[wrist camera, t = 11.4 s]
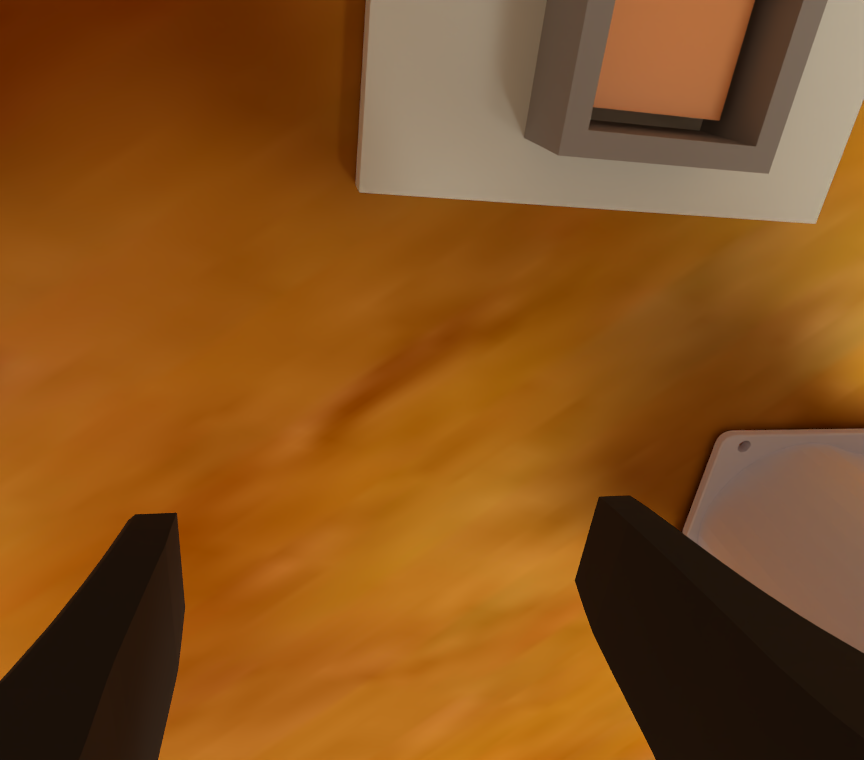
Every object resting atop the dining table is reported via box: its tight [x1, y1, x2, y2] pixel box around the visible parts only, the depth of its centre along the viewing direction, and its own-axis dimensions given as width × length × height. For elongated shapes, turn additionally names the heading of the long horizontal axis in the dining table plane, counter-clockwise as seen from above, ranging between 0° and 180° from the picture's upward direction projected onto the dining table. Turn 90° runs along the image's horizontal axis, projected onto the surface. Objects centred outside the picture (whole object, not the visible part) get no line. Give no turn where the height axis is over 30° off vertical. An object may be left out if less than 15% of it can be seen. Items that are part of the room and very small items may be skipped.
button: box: [593, 0, 755, 121], centre depth 16 cm, size 4×4×1 cm
